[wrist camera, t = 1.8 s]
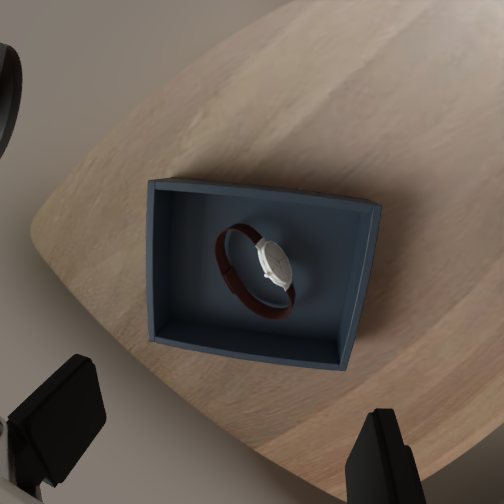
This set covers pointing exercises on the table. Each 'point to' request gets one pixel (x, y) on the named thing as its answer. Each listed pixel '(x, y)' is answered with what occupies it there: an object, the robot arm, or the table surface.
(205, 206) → the tray
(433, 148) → the table surface
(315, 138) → the table surface
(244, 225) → the watch
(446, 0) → the table surface
